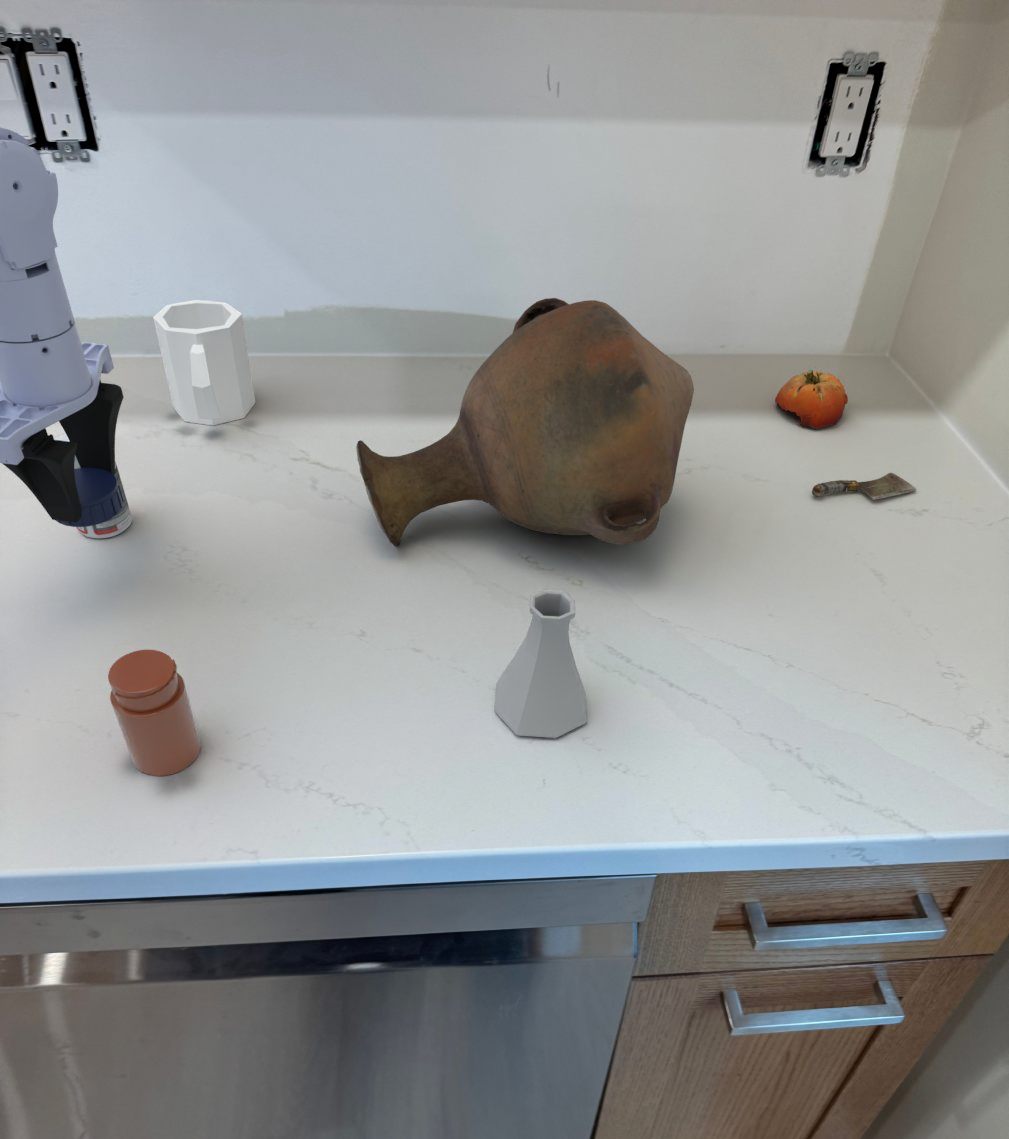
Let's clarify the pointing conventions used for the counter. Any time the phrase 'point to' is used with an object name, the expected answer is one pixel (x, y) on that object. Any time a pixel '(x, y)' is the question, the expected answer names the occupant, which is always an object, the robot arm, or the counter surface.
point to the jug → (552, 432)
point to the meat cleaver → (866, 487)
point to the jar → (154, 712)
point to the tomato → (814, 398)
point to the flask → (543, 674)
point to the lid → (96, 497)
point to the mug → (205, 361)
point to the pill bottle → (112, 525)
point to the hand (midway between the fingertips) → (84, 497)
